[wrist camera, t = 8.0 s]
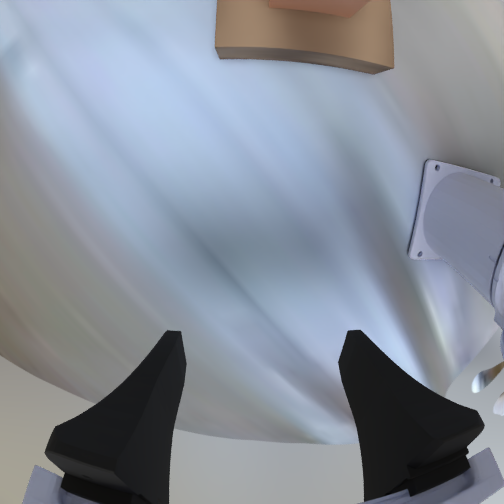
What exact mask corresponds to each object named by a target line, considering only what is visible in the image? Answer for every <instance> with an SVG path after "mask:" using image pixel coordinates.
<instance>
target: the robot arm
mask: <svg viewBox="0 0 504 504" xmlns="http://www.w3.org/2000/svg"><path fill="white" fill-rule="evenodd" d="M436 165H437V169H436V170H435V166H436ZM490 180H491V181H490ZM418 252H420V254H418ZM408 255H409V257H410V258H411V259H414V260H444V261H446V262H447V263H448V264H449V265H450V266H451V267H452V268H453V269H455V270H456V271H457V272H458V273H459V274H460V275H461V276H462V277H463V278H464V279H465V280H466V281H468V282H469V283H470V284H471V285H472V286H473V287H474V288H475V289H476V290H477V291H478V292H479V293H480V294H481V295H482V296H483V297H484V298H485V299H486V300H487V301H488V302H489V303H490V304H491V305H492V306H493V307H494V308H495V317H494V321H495V322H496V323H497V324H498V325H499V326H500V327H501V328H502V330H503V332H502V335H501V341H500V347H501V352H502V356H503V359H504V189H503V188H501V187H500V179H499V178H498V177H495V176H492V175H489V174H485V173H482V172H479V171H475V170H471V169H468V168H464V167H460V166H456V165H453V164H448V163H444V162H440V161H436V160H431V159H429V160H427V161H426V163H425V169H424V176H423V183H422V189H421V195H420V201H419V207H418V212H417V217H416V222H415V226H414V231H413V235H412V240H411V244H410V248H409V252H408ZM186 364H187V363H186V358H185V352H184V347H183V341H182V335H181V331H169V330H167V331H166V332H165V333H164V334H163V336H162V337H161V339H160V340H159V341H158V343H157V344H156V345H155V346H154V348H153V349H152V350H151V352H150V353H149V354H148V355H147V356H146V358H145V359H144V360H143V361H142V362H141V364H140V365H139V366H138V367H137V368H136V369H135V370H134V371H133V372H132V373H131V375H130V376H129V377H128V378H127V379H126V380H125V381H124V382H123V383H122V384H120V385H119V386H118V387H117V388H116V389H115V390H114V391H113V392H111V393H110V394H109V395H108V396H106V397H105V398H104V399H103V400H101V401H100V402H99V403H97V404H96V405H94V406H93V407H91V408H90V409H88V410H87V411H85V412H83V413H82V414H80V415H79V416H76V417H75V418H73V419H71V420H68V421H66V422H64V423H62V424H60V425H58V426H55V428H54V430H53V432H52V434H51V436H50V439H49V442H48V444H47V447H46V450H45V455H46V456H47V458H48V459H49V460H50V461H52V462H53V463H54V464H55V465H56V466H57V467H58V468H60V469H61V470H62V471H63V472H65V474H64V477H63V478H62V477H60V476H58V475H57V474H55V473H52V472H50V471H48V470H46V469H44V468H41V467H39V466H37V465H35V466H34V469H33V472H32V475H31V477H30V480H29V484H28V486H27V490H26V493H25V496H24V499H23V503H22V504H169V475H170V458H171V446H172V437H173V430H174V424H175V420H176V416H177V412H178V407H179V403H180V399H181V395H182V391H183V387H184V381H185V373H186ZM338 364H339V369H340V375H341V380H342V383H343V387H344V390H345V393H346V396H347V399H348V402H349V405H350V408H351V411H352V414H353V417H354V420H355V423H356V427H357V432H358V438H359V443H360V450H361V457H362V466H363V478H364V502H362V503H358V504H480V503H481V502H483V501H484V500H486V499H487V498H488V497H490V496H491V495H493V494H494V493H496V492H497V491H498V490H500V489H501V488H502V487H504V480H503V477H502V475H501V472H500V470H499V468H498V465H497V463H496V461H495V459H494V456H493V454H492V452H491V450H490V448H486V449H484V450H483V451H481V452H479V453H477V454H476V455H474V456H472V457H471V458H469V459H467V457H466V455H467V454H468V453H469V451H468V449H467V446H468V445H469V444H470V443H471V442H472V441H473V440H474V439H475V438H476V437H477V436H478V435H479V434H480V433H481V432H482V431H483V429H484V426H485V425H484V423H483V421H482V419H481V417H480V415H479V413H478V412H477V411H476V410H473V409H470V408H468V407H464V406H462V405H459V404H457V403H454V402H452V401H450V400H448V399H446V398H444V397H442V396H440V395H438V394H437V393H435V392H433V391H432V390H430V389H428V388H427V387H425V386H424V385H422V384H421V383H419V382H418V381H416V380H415V379H414V378H412V377H411V376H410V375H408V374H407V373H406V372H405V371H404V370H402V369H401V368H400V367H399V366H398V365H396V364H395V363H394V362H393V361H392V360H391V359H390V358H389V357H388V356H387V355H386V354H385V353H384V352H383V351H381V350H380V349H379V348H378V347H377V346H376V345H375V344H374V343H373V342H372V341H371V340H370V339H369V338H368V337H367V336H366V335H365V334H364V333H363V332H362V331H361V330H349V331H348V332H347V335H346V339H345V342H344V345H343V349H342V352H341V355H340V358H339V361H338Z"/></svg>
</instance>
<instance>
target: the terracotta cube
mask: <svg viewBox="0 0 504 504" xmlns="http://www.w3.org/2000/svg"><path fill="white" fill-rule="evenodd" d="M369 1H371V0H269V8H281V9H293V10H303V11H311V12H318V13H325V14H331V15H337V16H342V17H347V18H350V17H351V16H353V15H354V14H355V13H356V12H357V11H358V10H360V9H361V8H362V7H363V6H364V5H366V4H367V3H368V2H369Z"/></svg>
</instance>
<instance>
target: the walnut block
mask: <svg viewBox="0 0 504 504" xmlns="http://www.w3.org/2000/svg"><path fill="white" fill-rule="evenodd" d="M215 49H216V51H217V54H218V56H219V59H261V60H279V61H292V62H302V63H311V64H318V65H325V66H332V67H338V68H344V69H349V70H355V71H360V72H364V73H369V74H376V73H379V72H383V71H386V70H390V69H393V68H394V44H393V26H392V14H391V4H390V0H371V1H369V2H368V3H367V4H366V5H364V6H363V7H362V8H361V9H360V10H358V11H357V12H356V13H355V14H354V15H353V16H351V17H350V18H347V17H342V16H337V15H331V14H325V13H318V12H311V11H303V10H293V9H281V8H269V0H217V14H216V32H215Z"/></svg>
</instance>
